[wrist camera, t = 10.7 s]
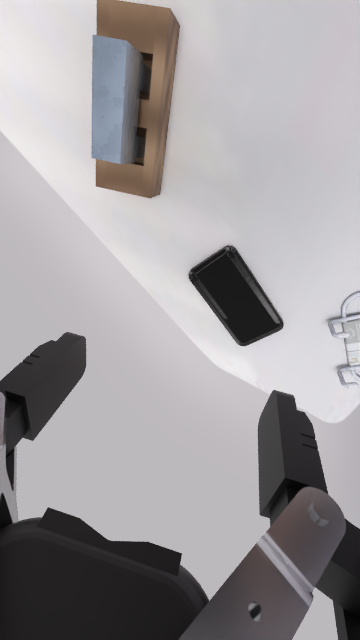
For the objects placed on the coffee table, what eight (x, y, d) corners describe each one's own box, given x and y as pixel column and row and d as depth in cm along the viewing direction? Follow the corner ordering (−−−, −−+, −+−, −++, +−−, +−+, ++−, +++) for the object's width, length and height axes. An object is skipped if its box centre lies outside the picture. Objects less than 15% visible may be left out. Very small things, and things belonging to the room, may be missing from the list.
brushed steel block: (128, 61, 30) (92, 34, 23) (155, 66, 30) (126, 40, 23) (122, 157, 35) (91, 157, 28) (145, 162, 35) (120, 164, 28)
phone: (231, 243, 38) (286, 327, 42) (231, 241, 39) (285, 323, 43) (184, 274, 41) (240, 348, 45) (186, 271, 42) (240, 344, 46)
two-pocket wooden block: (114, 15, 29) (96, -3, 26) (179, 25, 29) (170, 8, 25) (109, 183, 38) (95, 186, 34) (159, 194, 37) (150, 198, 34)
